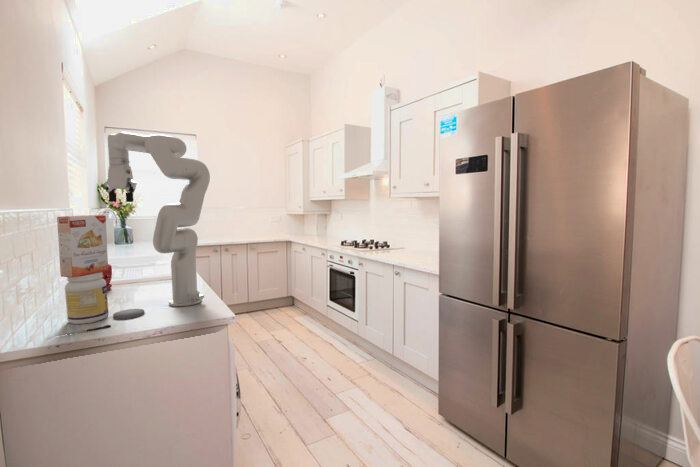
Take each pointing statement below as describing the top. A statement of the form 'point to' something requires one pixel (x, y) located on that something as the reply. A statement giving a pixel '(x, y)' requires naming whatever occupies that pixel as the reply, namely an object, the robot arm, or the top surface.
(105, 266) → the cracker box
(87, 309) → the supplement tub
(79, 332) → the chef's knife
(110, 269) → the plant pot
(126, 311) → the coaster
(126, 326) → the top surface
